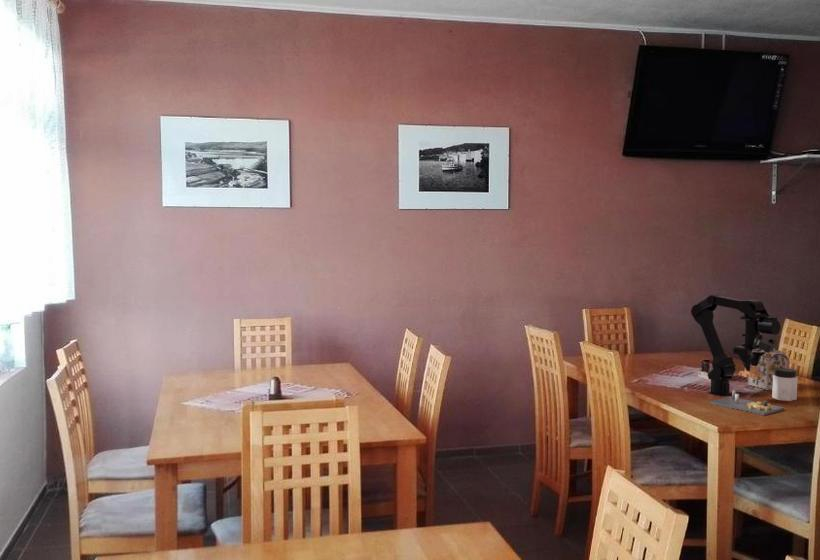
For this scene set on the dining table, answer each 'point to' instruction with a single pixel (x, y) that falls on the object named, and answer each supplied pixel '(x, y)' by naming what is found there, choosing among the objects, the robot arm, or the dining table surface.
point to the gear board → (747, 405)
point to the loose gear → (751, 372)
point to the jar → (784, 384)
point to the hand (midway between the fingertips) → (751, 370)
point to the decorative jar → (769, 368)
